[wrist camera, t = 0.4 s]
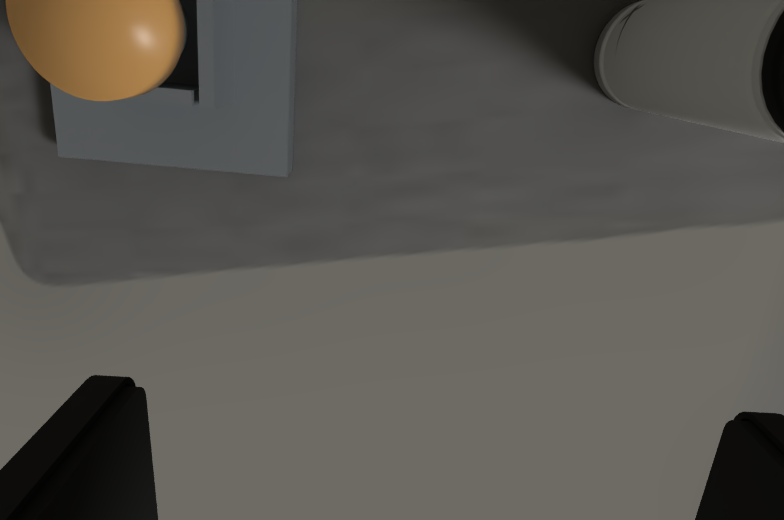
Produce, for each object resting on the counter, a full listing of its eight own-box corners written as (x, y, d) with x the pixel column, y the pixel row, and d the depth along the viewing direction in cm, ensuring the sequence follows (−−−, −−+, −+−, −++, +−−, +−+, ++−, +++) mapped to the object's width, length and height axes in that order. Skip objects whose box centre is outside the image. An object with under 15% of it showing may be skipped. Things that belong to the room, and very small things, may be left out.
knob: (72, -57, 28) (-6, -84, 22) (210, -43, 28) (165, -66, 23) (85, 86, 30) (17, 93, 25) (212, 98, 30) (173, 108, 25)
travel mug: (583, 11, 33) (828, -44, 15) (696, -11, 33) (1097, -97, 14) (589, 117, 36) (810, 188, 17) (696, 98, 35) (1044, 147, 16)
